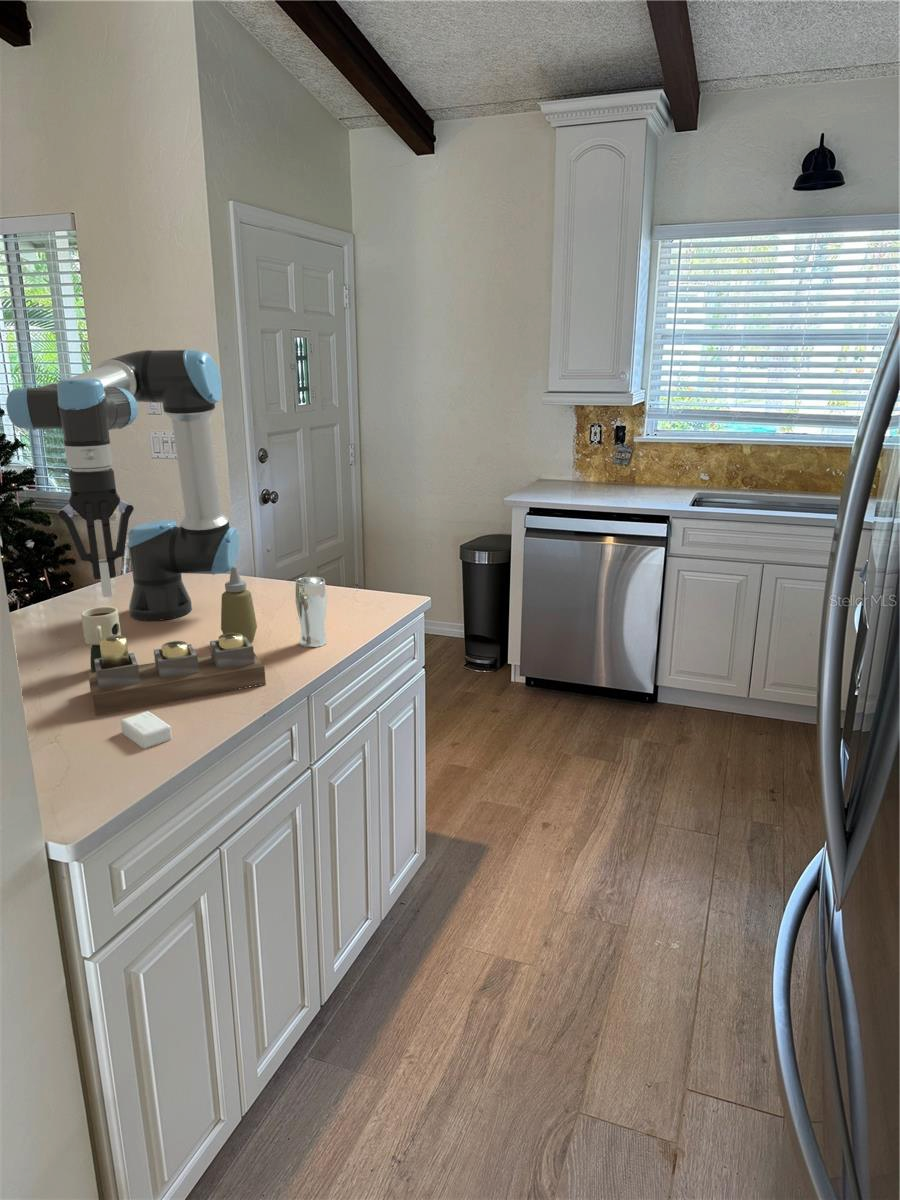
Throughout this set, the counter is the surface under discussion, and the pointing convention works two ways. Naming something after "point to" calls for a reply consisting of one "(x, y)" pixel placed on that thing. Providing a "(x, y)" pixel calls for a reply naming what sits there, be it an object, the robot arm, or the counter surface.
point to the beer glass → (311, 610)
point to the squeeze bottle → (237, 608)
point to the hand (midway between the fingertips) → (107, 594)
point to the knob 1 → (114, 651)
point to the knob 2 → (230, 641)
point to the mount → (174, 677)
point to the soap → (146, 729)
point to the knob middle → (174, 649)
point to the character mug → (99, 628)
